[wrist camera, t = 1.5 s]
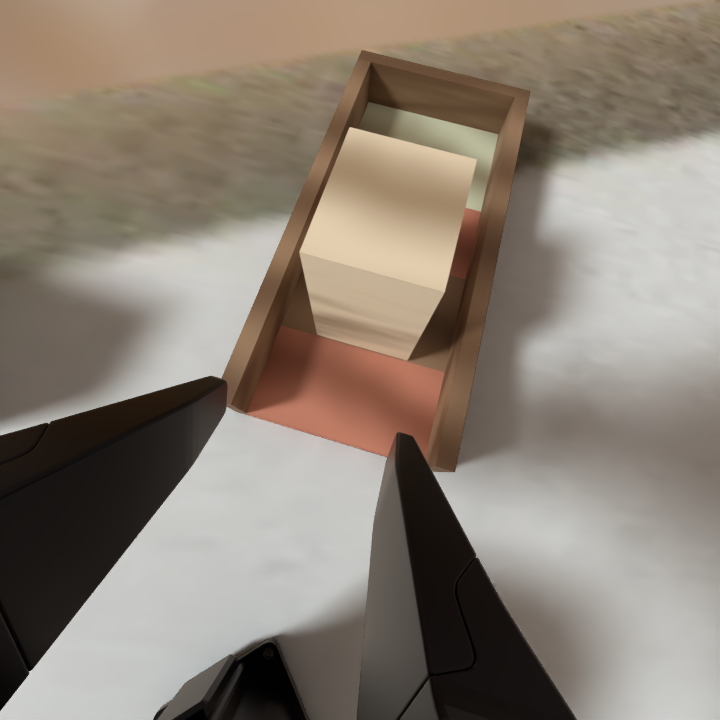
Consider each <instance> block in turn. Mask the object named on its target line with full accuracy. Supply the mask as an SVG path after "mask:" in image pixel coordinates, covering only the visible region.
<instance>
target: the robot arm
mask: <svg viewBox="0 0 720 720" xmlns="http://www.w3.org/2000/svg"><path fill="white" fill-rule="evenodd" d="M227 390H228V384H227V381H226V380H224V379H221V378H218V377H214V376H208V377H204V378H201V379H197V380H194V381H190V382H187V383H184V384H180V385H177V386H173V387H170V388H166V389H163V390H159V391H156V392H152V393H149V394H145V395H142V396H138V397H135V398H131V399H128V400H124V401H121V402H117V403H114V404H110V405H107V406H103V407H100V408H96V409H93V410H89V411H86V412H82V413H79V414H75V415H72V416H68V417H65V418H61V419H58V420H54V421H51V422H50V424H48V423H44V424H40V425H37V426H33V427H30V428H26V429H23V430H19V431H15V432H12V433H8V434H4V435H1V436H0V711H1V709H2V708H3V707H4V706H5V704H6V703H7V702H8V700H9V699H10V698H11V697H12V695H13V694H14V693H15V692H16V690H17V689H18V688H19V686H20V685H21V684H22V683H23V681H24V680H25V679H26V677H27V676H28V675H29V671H31V670H32V669H33V668H34V667H35V666H36V664H37V663H38V662H39V660H40V659H41V658H42V657H43V655H44V654H45V653H46V652H47V650H48V649H49V648H50V646H51V645H52V644H53V643H54V641H55V640H56V639H57V638H58V636H59V635H60V634H61V632H62V631H63V630H64V629H65V627H66V626H67V625H68V624H69V622H70V621H71V620H72V618H73V617H74V616H75V615H76V613H77V612H78V611H79V610H80V608H81V607H82V606H83V604H84V603H85V602H86V601H87V599H88V598H89V597H90V596H91V594H92V593H93V592H94V590H95V589H96V588H97V587H98V585H99V584H100V583H101V581H102V580H103V579H104V578H105V576H106V575H107V574H108V573H109V571H110V570H111V569H112V567H113V566H114V565H115V564H116V562H117V561H118V560H119V559H120V557H121V556H122V555H123V553H124V552H125V551H126V550H127V548H128V547H129V546H130V545H131V543H132V542H133V541H134V539H135V538H136V537H137V536H138V534H139V533H140V532H141V531H142V529H143V528H144V527H145V525H146V524H147V523H148V522H149V520H150V519H151V518H152V517H153V515H154V514H155V513H156V511H157V510H158V509H159V508H160V506H161V505H162V504H163V503H164V501H165V500H166V499H167V497H168V496H169V495H170V494H171V492H172V491H173V490H174V489H175V487H176V486H177V485H178V483H179V482H180V481H181V480H182V478H183V477H184V476H185V475H186V473H187V472H188V471H189V469H190V468H191V467H192V465H193V464H194V462H195V461H196V459H197V458H198V456H199V454H200V453H201V451H202V450H203V448H204V446H205V445H206V443H207V442H208V440H209V438H210V437H211V435H212V433H213V432H214V430H215V429H216V427H217V425H218V424H219V422H220V421H221V419H222V417H223V416H224V413H225V411H226V406H227ZM475 557H476V553H475V551H474V549H473V547H472V546H471V544H470V542H469V540H468V538H467V536H466V534H465V532H464V531H463V529H462V527H461V525H460V523H459V521H458V519H457V517H456V515H455V514H454V512H453V510H452V508H451V506H450V504H449V502H448V500H447V498H446V497H445V495H444V493H443V491H442V489H441V487H440V485H439V483H438V482H437V480H436V478H435V476H434V474H433V472H432V470H431V468H430V466H429V465H428V463H427V461H426V459H425V457H424V455H423V453H422V451H421V449H420V448H419V446H418V444H417V442H416V440H415V438H414V437H413V436H412V435H409V434H405V433H402V432H397V433H396V435H395V437H394V440H393V443H392V446H391V449H390V451H389V454H388V457H387V460H386V464H385V469H384V474H383V479H382V483H381V488H380V493H379V498H378V502H377V507H376V512H375V517H374V524H373V533H372V545H371V557H370V569H369V580H368V592H367V604H366V616H365V627H364V639H363V651H362V663H361V674H360V686H359V698H358V709H357V720H577V719H576V717H575V716H574V714H573V713H572V711H571V710H570V708H569V706H568V705H567V703H566V702H565V700H564V699H563V697H562V696H561V694H560V692H559V691H558V689H557V688H556V686H555V685H554V683H553V682H552V680H551V678H550V677H549V675H548V674H547V672H546V671H545V669H544V668H543V666H542V664H541V663H540V661H539V660H538V658H537V657H536V655H535V654H534V652H533V650H532V649H531V647H530V646H529V644H528V643H527V641H526V640H525V638H524V636H523V635H522V633H521V632H520V630H519V628H518V627H517V625H516V623H515V622H514V620H513V619H512V617H511V615H510V614H509V612H508V610H507V609H506V607H505V606H504V604H503V602H502V600H501V599H500V597H499V595H498V593H497V592H496V590H495V588H494V586H493V584H492V583H491V581H490V579H489V577H488V575H487V574H486V572H485V570H484V568H483V566H482V564H481V562H480V560H479V559H478V558H475ZM266 648H271V649H272V650H273V655H271V656H268V655H266V653H265V649H266ZM153 720H309V718H308V715H307V713H306V710H305V708H304V705H303V703H302V700H301V698H300V696H299V693H298V691H297V688H296V686H295V683H294V681H293V678H292V676H291V673H290V671H289V669H288V666H287V664H286V661H285V659H284V656H283V654H282V651H281V649H280V646H279V644H278V643H277V641H276V640H274V639H267V640H265V641H264V642H262V643H260V644H259V645H257V646H256V647H254V648H253V649H251V650H249V651H248V652H246V653H245V654H243V655H242V656H240V657H238V658H237V657H236V655H231V654H230V655H228V656H227V657H225V658H224V659H222V660H220V661H219V662H217V663H216V664H214V665H213V666H211V667H209V668H208V669H206V670H205V671H203V672H201V673H200V674H198V675H197V676H195V677H194V678H192V679H190V680H189V681H187V682H186V683H185V684H184V685H183V686H182V688H181V689H180V690H179V692H178V693H177V694H176V696H175V697H174V698H173V699H172V700H171V701H169V702H168V703H166V704H165V705H163V706H162V707H161V708H160V709H159V711H158V712H157V713H156V715H155V717H154V719H153Z"/></svg>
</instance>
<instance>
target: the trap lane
mask: <svg viewBox="0 0 720 720" xmlns="http://www.w3.org/2000/svg"><path fill="white" fill-rule="evenodd" d="M529 96H530V91H528V90H524V89H520V88H516V87H512V86H508V85H503V84H499V83H495V82H491V81H487V80H483V79H479V78H475V77H470V76H466V75H462V74H458V73H454V72H450V71H446V70H442V69H437V68H433V67H429V66H425V65H421V64H417V63H413V62H409V61H405V60H400V59H396V58H392V57H388V56H384V55H380V54H376V53H372V52H367V51H363V50H362V51H361V53H360V56H359V58H358V60H357V63H356V65H355V67H354V70H353V72H352V74H351V77H350V79H349V81H348V84H347V86H346V88H345V91H344V93H343V95H342V98H341V100H340V102H339V105H338V107H337V109H336V112H335V114H334V116H333V119H332V121H331V124H330V126H329V128H328V131H327V133H326V135H325V138H324V140H323V142H322V145H321V147H320V149H319V152H318V154H317V156H316V159H315V161H314V163H313V166H312V168H311V170H310V173H309V175H308V177H307V180H306V182H305V184H304V187H303V189H302V191H301V194H300V196H299V198H298V201H297V203H296V205H295V208H294V210H293V212H292V215H291V217H290V219H289V222H288V224H287V226H286V229H285V231H284V233H283V236H282V238H281V240H280V243H279V245H278V247H277V250H276V252H275V255H274V257H273V259H272V262H271V264H270V266H269V269H268V271H267V273H266V276H265V278H264V280H263V283H262V285H261V287H260V290H259V292H258V294H257V297H256V299H255V301H254V304H253V306H252V308H251V311H250V313H249V315H248V318H247V320H246V322H245V325H244V327H243V329H242V332H241V334H240V336H239V339H238V341H237V343H236V346H235V348H234V350H233V353H232V355H231V357H230V360H229V362H228V364H227V367H226V369H225V371H224V374H223V376H222V378H221V379H224V380H226V381H227V384H228V390H227V407H229V408H230V409H232V410H234V411H236V412H239V413H243V414H246V415H249V416H253V417H256V418H259V419H263V420H266V421H269V422H273V423H276V424H279V425H282V426H286V427H289V428H292V429H296V430H299V431H302V432H306V433H309V434H312V435H316V436H319V437H322V438H325V439H329V440H332V441H335V442H339V443H342V444H345V445H349V446H352V447H355V448H358V449H362V450H365V451H368V452H372V453H375V454H378V455H382V456H385V457H388V454H389V451H390V449H391V446H392V443H393V440H394V437H395V435H396V433H397V432H402V433H405V434H409V435H412V436H413V437H414V438H415V440H416V442H417V444H418V446H419V448H420V449H421V451H422V453H423V455H424V457H425V459H426V461H427V463H428V465H429V466H430V468H431V470H432V471H435V472H455V469H456V464H457V459H458V454H459V449H460V444H461V439H462V434H463V429H464V424H465V419H466V414H467V409H468V404H469V399H470V393H471V388H472V383H473V378H474V373H475V368H476V363H477V358H478V353H479V348H480V343H481V338H482V333H483V328H484V323H485V318H486V313H487V308H488V303H489V298H490V292H491V287H492V282H493V277H494V272H495V267H496V262H497V257H498V252H499V247H500V242H501V237H502V232H503V227H504V222H505V217H506V212H507V207H508V202H509V197H510V191H511V186H512V181H513V176H514V171H515V166H516V161H517V156H518V151H519V146H520V141H521V136H522V131H523V126H524V121H525V116H526V111H527V106H528V101H529ZM349 127H352V128H356V129H359V130H363V131H367V132H371V133H375V134H379V135H383V136H387V137H391V138H395V139H399V140H403V141H407V142H411V143H414V144H418V145H422V146H426V147H430V148H434V149H438V150H442V151H446V152H450V153H454V154H458V155H462V156H466V157H469V158H473V159H477V162H476V166H475V170H474V174H473V178H472V183H471V187H470V191H469V195H468V199H467V203H466V207H465V211H464V215H463V220H462V224H461V228H460V232H459V236H458V240H457V244H456V248H455V252H454V257H453V261H452V265H451V269H450V273H449V277H448V281H447V285H446V289H445V293H444V295H443V296H442V298H441V300H440V302H439V304H438V306H437V307H436V309H435V311H434V313H433V315H432V316H431V318H430V320H429V322H428V324H427V326H426V327H425V329H424V331H423V333H422V335H421V337H420V338H419V340H418V342H417V344H416V346H415V347H414V349H413V351H412V353H411V355H410V357H409V358H408V360H407V361H406V360H403V359H399V358H396V357H392V356H389V355H386V354H382V353H379V352H375V351H372V350H368V349H365V348H361V347H358V346H354V345H351V344H347V343H344V342H340V341H337V340H333V339H330V338H326V337H323V336H319V335H317V332H316V327H315V323H314V318H313V313H312V309H311V304H310V300H309V295H308V290H307V286H306V281H305V276H304V272H303V267H302V262H301V258H300V253H299V252H300V249H301V247H302V244H303V242H304V239H305V237H306V234H307V232H308V229H309V227H310V224H311V222H312V219H313V217H314V214H315V212H316V209H317V207H318V204H319V202H320V199H321V197H322V194H323V192H324V189H325V187H326V185H327V182H328V180H329V177H330V175H331V172H332V170H333V167H334V165H335V162H336V160H337V157H338V155H339V152H340V150H341V147H342V145H343V142H344V140H345V137H346V135H347V132H348V130H349Z"/></svg>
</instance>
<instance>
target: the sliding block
mask: <svg viewBox="0 0 720 720" xmlns="http://www.w3.org/2000/svg"><path fill="white" fill-rule="evenodd" d="M476 162H477V159H473V158H469V157H466V156H462V155H458V154H454V153H450V152H446V151H442V150H438V149H434V148H430V147H426V146H422V145H418V144H414V143H411V142H407V141H403V140H399V139H395V138H391V137H387V136H383V135H379V134H375V133H371V132H367V131H363V130H359V129H356V128H352V127H349V130H348V132H347V135H346V137H345V140H344V142H343V145H342V147H341V150H340V152H339V155H338V157H337V160H336V162H335V165H334V167H333V170H332V172H331V175H330V177H329V180H328V182H327V185H326V187H325V189H324V192H323V194H322V197H321V199H320V202H319V204H318V207H317V209H316V212H315V214H314V217H313V219H312V222H311V224H310V227H309V229H308V232H307V234H306V237H305V239H304V242H303V244H302V247H301V249H300V252H299V253H300V258H301V262H302V267H303V272H304V276H305V281H306V286H307V290H308V295H309V300H310V304H311V309H312V313H313V318H314V323H315V327H316V332H317V335H319V336H323V337H326V338H330V339H333V340H337V341H340V342H344V343H347V344H351V345H354V346H358V347H361V348H365V349H368V350H372V351H375V352H379V353H382V354H386V355H389V356H392V357H396V358H399V359H403V360H406V361H407V360H408V358H409V357H410V355H411V353H412V351H413V349H414V347H415V346H416V344H417V342H418V340H419V338H420V337H421V335H422V333H423V331H424V329H425V327H426V326H427V324H428V322H429V320H430V318H431V316H432V315H433V313H434V311H435V309H436V307H437V306H438V304H439V302H440V300H441V298H442V296H443V295H444V293H445V289H446V285H447V281H448V277H449V273H450V269H451V265H452V261H453V257H454V252H455V248H456V244H457V240H458V236H459V232H460V228H461V224H462V220H463V215H464V211H465V207H466V203H467V199H468V195H469V191H470V187H471V183H472V178H473V174H474V170H475V166H476Z"/></svg>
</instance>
